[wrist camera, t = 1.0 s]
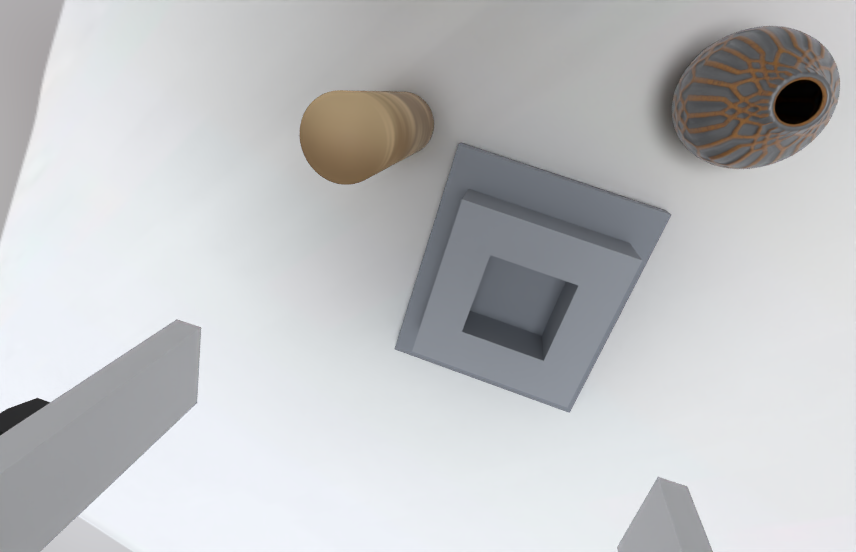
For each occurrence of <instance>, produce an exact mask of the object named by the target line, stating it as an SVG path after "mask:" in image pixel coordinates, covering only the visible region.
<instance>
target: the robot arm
mask: <svg viewBox="0 0 856 552" xmlns="http://www.w3.org/2000/svg"><path fill="white" fill-rule="evenodd" d="M200 339H201V327H198V326H195V325H192V324H189V323H186V322H183V321H180V320H175V321H174V322H172V323H171V324H169V325H168V326H166V327H165V328H163V329H162V330H160V331H158V332H157V333H155V334H154V335H152V336H151V337H149V338H148V339H146V340H145V341H143V342H142V343H140V344H139V345H137V346H136V347H134V348H133V349H131V350H130V351H128V352H127V353H125V354H123V355H122V356H120V357H119V358H117V359H116V360H114V361H113V362H111V363H110V364H108V365H107V366H105V367H104V368H102V369H101V370H99V371H98V372H96V373H95V374H93V375H92V376H90V377H89V378H87V379H85V380H84V381H82V382H81V383H79V384H78V385H76V386H75V387H73V388H72V389H70V390H69V391H67V392H66V393H64V394H63V395H61V396H60V397H58V398H57V399H55V400H54V401H52V402H47V401H44V400H41V399H39V398H36V399H33V400H31V401H28V402H25V403H22V404H19V405H17V406H14V407H11V408H8V409H6V410H5V411H3V412H2V413H0V552H40V551H41V550H42V549H43V548H44V547H46V546H47V545H48V544H49V543H50V542H51V541H52V540H53V539H54V538H55V537H56V536H57V535H58V534H59V533H60V532H61V531H62V530H63V529H65V528H66V527H67V526H68V525H69V524H70V523H71V522H72V521H73V520H74V519H75V518H76V517H77V516H78V515H79V514H80V513H81V512H82V511H83V510H85V509H86V508H87V507H88V506H89V505H90V504H91V503H92V502H93V501H94V500H95V499H96V498H97V497H98V496H99V495H100V494H101V493H102V492H104V491H105V490H106V489H107V488H108V487H109V486H110V485H111V484H112V483H113V482H114V481H115V480H116V479H117V478H118V477H119V476H120V475H121V474H123V473H124V472H125V471H126V470H127V469H128V468H129V467H130V466H131V465H132V464H133V463H134V462H135V461H136V460H137V459H138V458H139V457H140V456H142V455H143V454H144V453H145V452H146V451H147V450H148V449H149V448H150V447H151V446H152V445H153V444H154V443H155V442H156V441H157V440H158V439H159V438H161V437H162V436H163V435H164V434H165V433H166V432H167V431H168V430H169V429H170V428H171V427H172V426H173V425H174V424H175V423H176V422H177V421H178V420H180V419H181V418H182V417H183V416H184V415H185V414H186V413H187V412H188V411H189V410H190V409H191V408H192V407H193V406H194V405H195V404H196V403H197V394H198V376H199V357H200ZM617 549H618V552H713V551H712V548H711V546H710V543H709V541H708V538H707V536H706V533H705V531H704V528H703V525H702V523H701V520H700V518H699V515H698V513H697V510H696V508H695V505H694V502H693V500H692V497H691V495H690V492H689V490H688V487H687V486H684V485H681V484H678V483H675V482H672V481H669V480H666V479H663V478H660V477H658V478H657V480H656V481H655V483H654V485H653V486H652V488H651V490H650V492H649V493H648V495H647V497H646V498H645V500H644V502H643V504H642V505H641V507H640V509H639V511H638V512H637V514H636V516H635V517H634V519H633V521H632V523H631V524H630V526H629V528H628V529H627V531H626V533H625V535H624V536H623V538H622V540H621V541H620V543H619V545H618V547H617Z"/></svg>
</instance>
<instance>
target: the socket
mask: <svg viewBox="0 0 856 552" xmlns="http://www.w3.org/2000/svg"><path fill="white" fill-rule="evenodd" d="M670 216H671V214H670V213H668V212H667V211H666V210H663V209H660V208H657V207H654V206H651V205H648V204H645V203H642V202H639V201H635V200H632V199H629V198H626V197H623V196H620V195H617V194H614V193H611V192H608V191H605V190H602V189H599V188H596V187H593V186H590V185H587V184H584V183H581V182H578V181H575V180H572V179H569V178H566V177H563V176H560V175H557V174H554V173H551V172H548V171H545V170H542V169H539V168H536V167H533V166H530V165H527V164H524V163H521V162H518V161H515V160H512V159H509V158H506V157H503V156H500V155H497V154H494V153H491V152H488V151H485V150H482V149H479V148H476V147H473V146H470V145H467V144H464V143H460V144H459V145H458V148H457V151H456V154H455V157H454V161H453V164H452V167H451V170H450V173H449V177H448V180H447V183H446V186H445V189H444V193H443V196H442V199H441V202H440V205H439V209H438V212H437V215H436V218H435V221H434V225H433V228H432V231H431V234H430V237H429V241H428V244H427V247H426V250H425V253H424V257H423V260H422V263H421V266H420V269H419V273H418V276H417V279H416V282H415V285H414V289H413V292H412V295H411V298H410V301H409V305H408V308H407V311H406V314H405V317H404V321H403V324H402V327H401V330H400V333H399V337H398V340H397V343H396V346H395V349H396V350H398V351H401V352H404V353H407V354H409V355H412V356H415V357H418V358H420V359H423V360H426V361H429V362H431V363H434V364H437V365H440V366H442V367H445V368H448V369H451V370H453V371H456V372H459V373H462V374H464V375H467V376H470V377H473V378H475V379H478V380H481V381H484V382H486V383H489V384H492V385H495V386H497V387H500V388H503V389H506V390H508V391H511V392H514V393H517V394H519V395H522V396H525V397H528V398H531V399H533V400H536V401H539V402H542V403H544V404H547V405H550V406H553V407H555V408H558V409H561V410H564V411H566V412H569V413H570V411H571V409H572V407H573V405H574V403H575V401H576V399H577V397H578V395H579V393H580V391H581V389H582V388H583V386H584V384H585V382H586V380H587V378H588V376H589V374H590V372H591V370H592V368H593V366H594V364H595V362H596V360H597V358H598V356H599V354H600V353H601V351H602V349H603V347H604V345H605V343H606V341H607V339H608V337H609V335H610V333H611V331H612V329H613V327H614V325H615V323H616V321H617V319H618V318H619V316H620V314H621V312H622V310H623V308H624V306H625V304H626V302H627V300H628V298H629V296H630V294H631V292H632V290H633V288H634V286H635V284H636V283H637V281H638V279H639V277H640V275H641V273H642V271H643V269H644V267H645V265H646V263H647V261H648V259H649V257H650V255H651V253H652V251H653V249H654V247H655V246H656V244H657V242H658V240H659V238H660V236H661V234H662V232H663V230H664V228H665V226H666V224H667V222H668V220H669V218H670Z"/></svg>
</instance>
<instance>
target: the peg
mask: <svg viewBox="0 0 856 552" xmlns="http://www.w3.org/2000/svg"><path fill="white" fill-rule="evenodd" d="M433 128H434V120H433V115H432V112H431V110H430V108H429V106H428V104H427V103H426V102H425V101H424V100H423V99H422V98H421V97H419V96H417V95H416V94H413V93H410V92H389V91H343V90H340V91H331V92H327V93H325V94H322V95H321V96H319V97H317V98H316V99H315V100H314V101H313V102H312V103H311V104H310V105H309V106H308V108H307V109H306V111H305V113H304V115H303V118H302V121H301V125H300V143H301V147H302V150H303V153H304V156H305V158H306V160H307V161H308V163H309V164H310V166H311V167H312V168H313V169H314V170H315V171H316V172H317V173H318V174H319V175H320V176H322V177H323V178H325V179H327V180H329V181H331V182H334V183H338V184H355V183H359V182H361V181H364V180H366V179H367V178H369V177H371V176H373V175H375V174H377V173H379V172H381V171H382V170H384V169H386V168H388V167H390V166H392V165H394V164H395V163H397V162H399V161H401V160H403V159H405V158H407V157H408V156H410V155H412V154H414V153H416V152H418V151H419V150H421V149H422V148H423V147H425V146H426V144H427V143H428V142H429V140H430V138H431V136H432V133H433Z"/></svg>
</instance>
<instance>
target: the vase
mask: <svg viewBox="0 0 856 552" xmlns="http://www.w3.org/2000/svg"><path fill="white" fill-rule="evenodd" d="M839 91H840V78H839V72H838V68H837V65H836V63H835V61H834V59H833V57H832V55H831V54H830V52H829V51H828V50H827V49H826V48H825V47H824V46H823V45H822V44H821V43H820V42H819V41H817V40H816V39H815V38H813V37H811V36H809V35H808V34H805V33H803V32H801V31H798V30H795V29H791V28H786V27H778V26H763V27H756V28H750V29H746V30H742V31H739V32H736V33H734V34H731V35H729V36H727V37H724V38H722V39H721V40H719V41H717V42H715V43H714V44H712V45H710V46H709V47H708V48H706V49H705V50H704V51H702V52H701V53H700V54H699V55H698V56H697V57H696V58H695V59H694V60H693V61H692V62H691V64H690V65H689V66H688V67H687V69H686V70H685V72H684V73H683V75H682V76H681V78H680V80H679V82H678V84H677V87H676V89H675V92H674V96H673V101H672V119H673V124H674V127H675V130H676V133H677V135H678V137H679V139H680V140H681V142H682V143H683V145H684V146H685V147H686V148H687V149H688V150H689V151H690V152H692V153H693V154H694V155H696V156H697V157H698V158H700V159H702V160H704V161H706V162H708V163H710V164H713V165H716V166H720V167H724V168H731V169H750V168H757V167H762V166H766V165H770V164H773V163H776V162H779V161H781V160H784V159H786V158H788V157H790V156H792V155H793V154H795V153H797V152H798V151H800V150H802V149H803V148H804V147H806V146H807V145H808V144H809V143H810V142H812V141H813V140H814V139H815V138H816V137H817V136H818V135H819V134H820V133H821V131H822V130H823V129H824V128H825V126H826V125H827V123H828V122H829V120H830V118H831V117H832V114H833V112H834V110H835V108H836V105H837V102H838V97H839Z"/></svg>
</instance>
